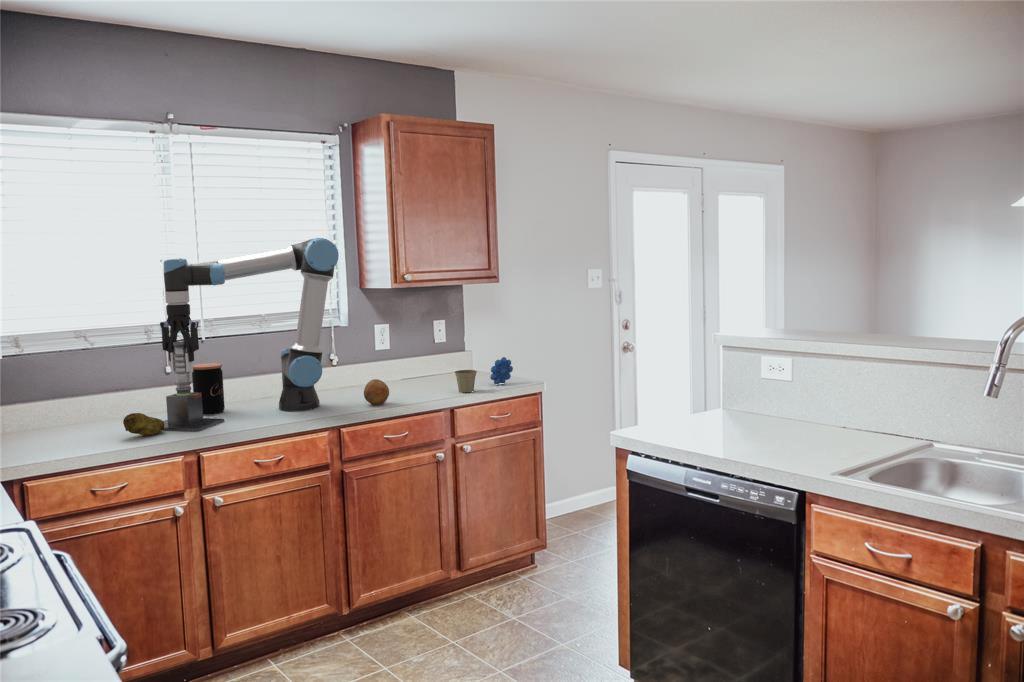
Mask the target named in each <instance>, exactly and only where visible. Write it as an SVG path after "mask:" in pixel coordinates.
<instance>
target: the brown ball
mask: <svg viewBox="0 0 1024 682" xmlns="http://www.w3.org/2000/svg"><path fill="white" fill-rule="evenodd" d="M363 389H364V390H363V397H364V399H365V401H366V402H367V403H369V404H371V405H373V406H376V405H377V406H378V405H383V404H384V403H385V402H387V400H388V398H389V396H390V389H389V386H388V385H387V384H386V382H384V381H383V380H380V379H376V378H374V379H371V380H369V381H368V382H367V383H366V385H365V387H364V388H363Z"/></svg>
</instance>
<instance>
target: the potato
mask: <svg viewBox="0 0 1024 682" xmlns="http://www.w3.org/2000/svg"><path fill="white" fill-rule="evenodd" d="M163 421H164V420H162V419H160V418H156V417H152V416H148V415H146V414H144V413H141V412H131V413H130V414H129V413H128V414H126V416H124V418H123V421H122V422H123V427H124V428H125V429H124V430H125V431H126V432H129V433H131V434H136V435H140V436H147V437H149V436H155V435H157V434H160V433H161V432H163V431H164V430H163V429H164V422H163Z"/></svg>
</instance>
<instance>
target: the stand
mask: <svg viewBox="0 0 1024 682" xmlns="http://www.w3.org/2000/svg"><path fill="white" fill-rule="evenodd" d="M191 392H192V395H188V396H176V393H172V394H169V395H166V396H165V400H166V415H167V419H165V420H162V421H163V422H164V429H163V430H162V431H163V432H164V431H171V432H192V433H193V432H197V433H198V432H200V431H203V429H204V430H207V429H209V428H211V426H212V427H214V426H217V425H220V424H222V423H224V422H226V420H225V418H213V417H212V418H211V417H207V418H206V417H204V415H203V408H202V393H199V392H193V391H191ZM219 423H220V424H219ZM216 424H217V425H216ZM213 425H214V426H213ZM208 427H209V428H208Z"/></svg>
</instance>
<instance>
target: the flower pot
mask: <svg viewBox="0 0 1024 682" xmlns="http://www.w3.org/2000/svg"><path fill="white" fill-rule="evenodd" d="M453 373H454V375H455V377H456V381H457V388H458V393H460V392H467V393H468V392H471V393H473V392H472V391H474V392H475V382H476V381H475V380H476V376H477V373H478V370H474V369H460V370H455V371H454V372H453Z"/></svg>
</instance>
